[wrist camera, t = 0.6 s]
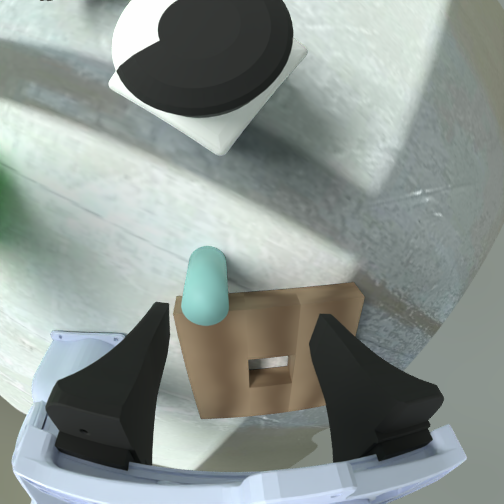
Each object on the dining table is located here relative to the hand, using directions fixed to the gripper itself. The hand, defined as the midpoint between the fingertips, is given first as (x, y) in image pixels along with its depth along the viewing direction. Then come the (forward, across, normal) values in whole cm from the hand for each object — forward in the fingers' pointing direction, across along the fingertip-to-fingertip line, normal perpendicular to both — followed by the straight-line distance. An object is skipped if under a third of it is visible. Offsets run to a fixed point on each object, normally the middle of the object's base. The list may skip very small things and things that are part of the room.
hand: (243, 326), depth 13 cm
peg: (+10, +2, +2) cm, 11 cm away
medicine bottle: (+11, +3, -12) cm, 16 cm away
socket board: (+10, -5, +12) cm, 17 cm away
